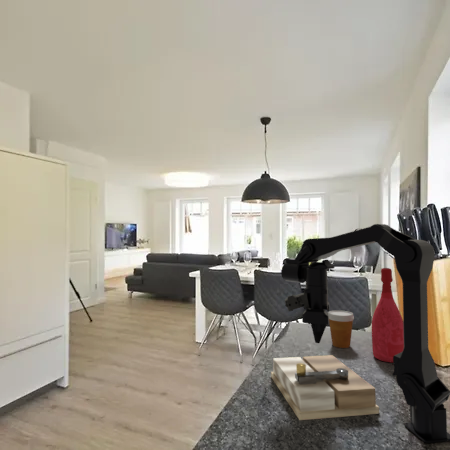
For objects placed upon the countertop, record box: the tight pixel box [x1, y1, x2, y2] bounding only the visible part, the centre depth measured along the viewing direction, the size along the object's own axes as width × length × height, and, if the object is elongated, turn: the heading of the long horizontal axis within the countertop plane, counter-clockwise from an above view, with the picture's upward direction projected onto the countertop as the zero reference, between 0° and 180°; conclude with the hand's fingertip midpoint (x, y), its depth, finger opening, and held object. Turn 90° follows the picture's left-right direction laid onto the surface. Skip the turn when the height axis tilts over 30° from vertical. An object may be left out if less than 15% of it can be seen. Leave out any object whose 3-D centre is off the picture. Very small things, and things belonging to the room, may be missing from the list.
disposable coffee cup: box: [327, 310, 355, 349], centre depth 124 cm, size 10×10×12 cm
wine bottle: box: [371, 267, 404, 364], centre depth 111 cm, size 10×10×30 cm
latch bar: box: [295, 363, 348, 381], centre depth 81 cm, size 13×3×4 cm, turn 97°
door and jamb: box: [270, 354, 380, 421], centre depth 86 cm, size 23×19×7 cm
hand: (317, 342), depth 90 cm, fingers closed
